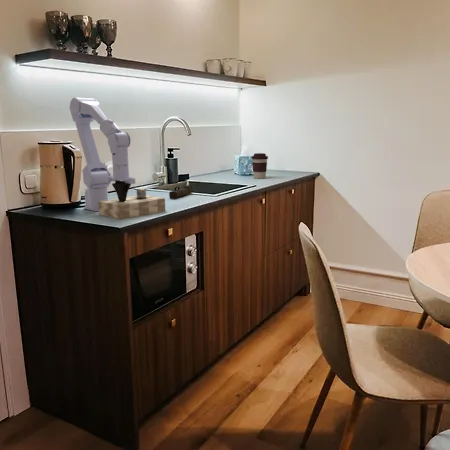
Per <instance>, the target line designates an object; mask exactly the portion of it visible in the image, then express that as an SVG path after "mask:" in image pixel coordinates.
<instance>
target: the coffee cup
mask: <svg viewBox="0 0 450 450" xmlns="http://www.w3.org/2000/svg"><path fill="white" fill-rule="evenodd" d="M268 159H269V156H268V155H266V153H261V152H256V153H253V155H251V160H252V163H251V164H252V174H253V175H252V176H253V179H255V180H256V179H257V180H263V179H264V180H265V179H266V177H267V175H266V174H267V169H268Z"/></svg>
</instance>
